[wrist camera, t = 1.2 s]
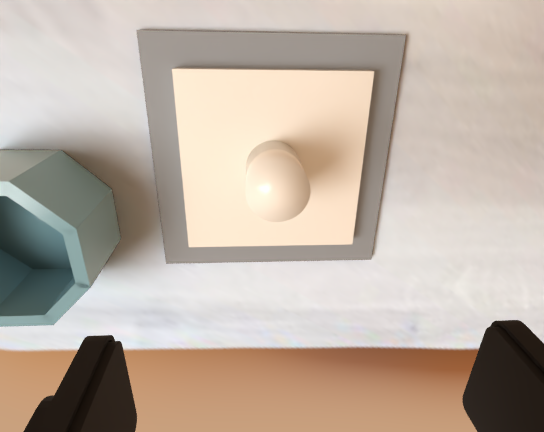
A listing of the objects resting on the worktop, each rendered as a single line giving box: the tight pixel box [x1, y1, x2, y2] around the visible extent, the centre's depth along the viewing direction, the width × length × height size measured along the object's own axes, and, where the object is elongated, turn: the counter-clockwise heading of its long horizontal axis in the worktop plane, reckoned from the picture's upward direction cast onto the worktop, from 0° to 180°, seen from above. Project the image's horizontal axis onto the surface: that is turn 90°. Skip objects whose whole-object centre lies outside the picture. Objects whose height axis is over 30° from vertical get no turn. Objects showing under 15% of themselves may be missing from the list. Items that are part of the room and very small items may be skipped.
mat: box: [137, 30, 406, 264], centre depth 26 cm, size 16×16×1 cm
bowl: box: [0, 150, 121, 327], centre depth 24 cm, size 10×10×6 cm
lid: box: [172, 68, 374, 247], centre depth 23 cm, size 12×12×6 cm
